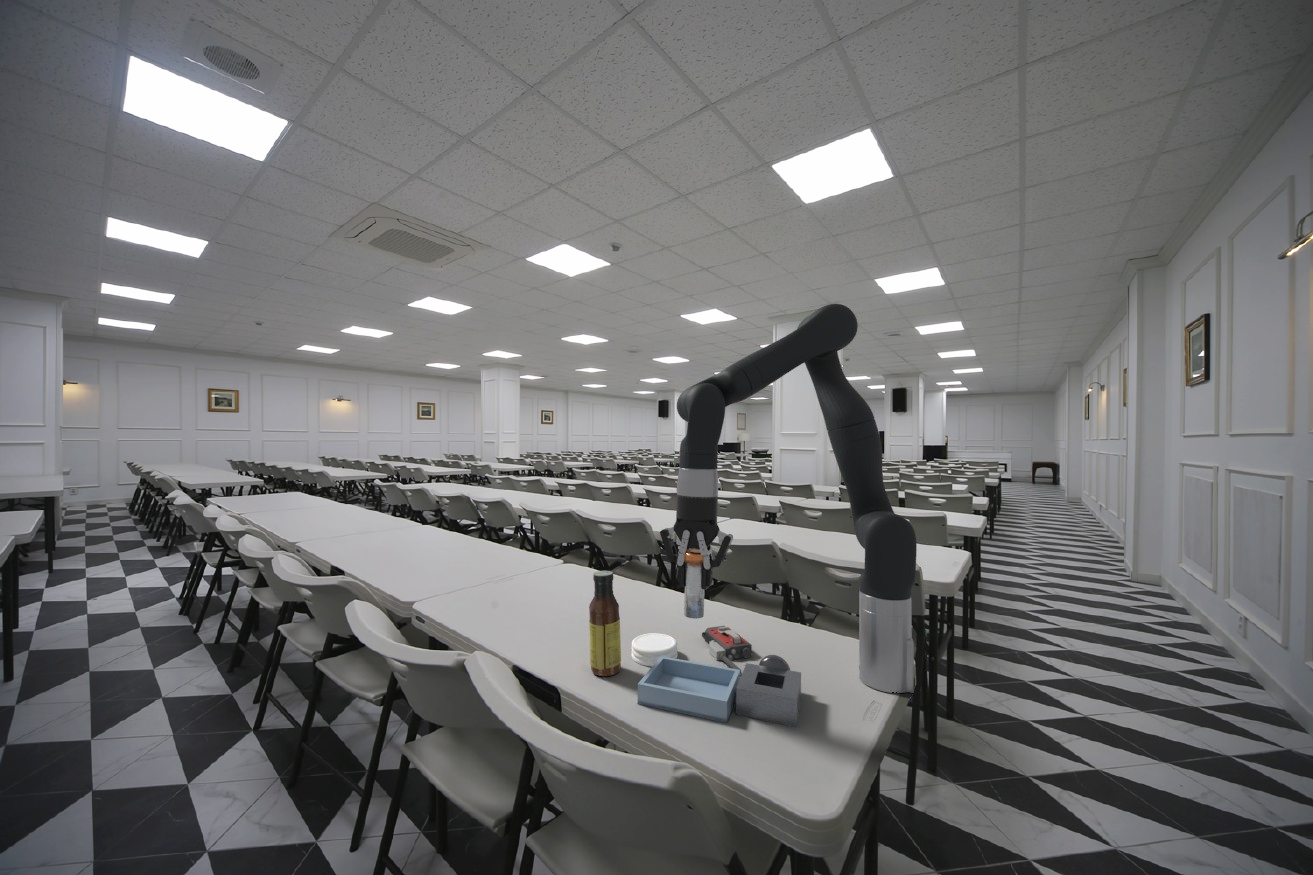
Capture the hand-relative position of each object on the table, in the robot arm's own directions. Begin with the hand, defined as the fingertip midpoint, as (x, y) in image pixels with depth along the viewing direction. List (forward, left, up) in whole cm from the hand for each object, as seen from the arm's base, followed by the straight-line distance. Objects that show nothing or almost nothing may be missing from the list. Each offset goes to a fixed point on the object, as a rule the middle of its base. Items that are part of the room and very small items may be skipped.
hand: (694, 586), depth 87 cm
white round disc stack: (+13, -13, -20) cm, 27 cm away
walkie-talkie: (-3, -20, -21) cm, 29 cm away
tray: (+1, 0, -20) cm, 20 cm away
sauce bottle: (+20, -3, -20) cm, 28 cm away
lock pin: (0, 0, -5) cm, 5 cm away
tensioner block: (-13, -3, -20) cm, 24 cm away
